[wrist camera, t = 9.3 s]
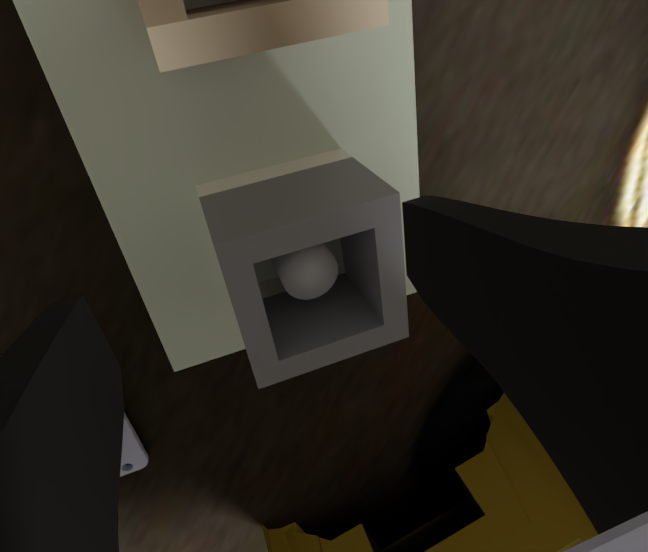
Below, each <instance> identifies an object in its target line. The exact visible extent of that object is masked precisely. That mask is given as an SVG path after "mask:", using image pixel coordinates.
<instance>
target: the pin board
mask: <svg viewBox="0 0 648 552" xmlns="http://www.w3.org/2000/svg"><path fill="white" fill-rule="evenodd" d="M12 1H13V3H14V5H15V7H16V10H17V12H18V14H19V17H20V19H21V21H22V24H23V26H24V28H25V30H26V33H27V35H28V37H29V40H30V42H31V44H32V46H33V49H34V51H35V53H36V56H37V58H38V60H39V63H40V65H41V67H42V69H43V72H44V74H45V76H46V79H47V81H48V83H49V85H50V88H51V90H52V92H53V95H54V97H55V99H56V102H57V104H58V106H59V108H60V111H61V113H62V115H63V118H64V120H65V122H66V124H67V127H68V129H69V131H70V134H71V136H72V138H73V141H74V143H75V145H76V147H77V150H78V152H79V154H80V157H81V159H82V161H83V163H84V166H85V168H86V170H87V173H88V175H89V177H90V180H91V182H92V184H93V186H94V189H95V191H96V193H97V196H98V198H99V200H100V203H101V205H102V207H103V209H104V212H105V214H106V216H107V219H108V221H109V223H110V225H111V228H112V230H113V232H114V235H115V237H116V239H117V242H118V244H119V246H120V248H121V251H122V253H123V255H124V258H125V260H126V262H127V264H128V267H129V269H130V271H131V274H132V276H133V278H134V281H135V283H136V285H137V287H138V290H139V292H140V294H141V297H142V299H143V301H144V303H145V306H146V308H147V310H148V313H149V315H150V317H151V320H152V322H153V324H154V326H155V329H156V331H157V333H158V336H159V338H160V340H161V342H162V345H163V347H164V349H165V352H166V354H167V356H168V359H169V361H170V363H171V365H172V368H173V370H174V372H176V371H179V370H183V369H186V368H189V367H192V366H195V365H198V364H201V363H204V362H207V361H210V360H213V359H216V358H219V357H222V356H225V355H228V354H231V353H234V352H237V351H240V350H243V349H246V348H245V345H244V341H243V338H242V335H241V332H240V329H239V325H238V322H237V319H236V316H235V313H234V309H233V306H232V303H231V300H230V297H229V293H228V290H227V287H226V284H225V281H224V278H223V274H222V271H221V268H220V265H219V262H218V258H217V255H216V252H215V249H214V246H213V242H212V239H211V236H210V232H209V229H208V226H207V223H206V219H205V216H204V213H203V209H202V206H201V203H200V200H199V196H198V193H197V190H196V185H200V184H204V183H208V182H211V181H215V180H219V179H223V178H227V177H231V176H235V175H239V174H242V173H246V172H250V171H254V170H258V169H262V168H266V167H270V166H274V165H277V164H281V163H285V162H289V161H293V160H297V159H301V158H305V157H308V156H312V155H316V154H320V153H324V152H328V151H332V150H336V149H339V148H342V149H343V150H344V151H345V152H347V153H348V154H349V155H351V156H352V157H353V158H355V159H356V160H357V161H359V162H360V163H361V164H363V165H364V166H365V167H367V168H368V169H369V170H370V171H372V172H373V173H374V174H376V175H377V176H378V177H380V178H381V179H382V180H384V181H385V182H386V183H388V184H389V185H390V186H392V187H393V188H394V189H396V190H397V191H398V192H399V193H400V205H401V220H402V235H403V251H404V266H405V281H406V295H409V294H412V293H415V292H417V291H416V289H415V288H414V286H413V284H412V283H411V281H410V280H409V278H408V277H407V273H406V258H405V242H404V226H403V210H402V202H405V201H408V200H412V199H415V198H419V197H420V194H419V170H418V146H417V122H416V97H415V73H414V49H413V25H412V0H388V13H389V25H386V26H381V27H376V28H371V29H367V30H362V31H357V32H352V33H348V34H343V35H338V36H333V37H328V38H324V39H319V40H314V41H309V42H305V43H300V44H295V45H290V46H285V47H281V48H276V49H271V50H266V51H262V52H257V53H252V54H247V55H242V56H238V57H233V58H228V59H223V60H219V61H214V62H209V63H204V64H199V65H195V66H190V67H185V68H180V69H176V70H171V71H166V72H161V73H160V71H159V68H158V64H157V61H156V58H155V55H154V52H153V48H152V45H151V42H150V39H149V36H148V32H147V29H146V26H145V23H144V20H143V16H142V13H141V10H140V7H139V4H138V0H12ZM232 1H237V0H183V3H184V6H185V10H189V9H194V8H200V7H205V6H210V5H216V4H221V3H226V2H232ZM253 266H254V270H255V274H256V278H257V281H258V283H260V282H263V281H267V280H270V279H273V278H276V277H279V278H280V280H281V282H282V284H283V286H284V288H285V290H286V291H287V292H288V293H289V294H290V295H291V296H293V297H295V298H297V299H302V300H309V299H314V298H317V297H319V296H321V295H323V294H324V293H326V292H327V291H328V290H329V289H330V288H331V287H332V286H333V284H334V283H335V281H336V278H337V275H338V265H337V261H336V259H335V254H334V248H333V242H332V241H328V242H325V243H322V244H318V245H315V246H312V247H308V248H305V249H302V250H298V251H295V252H291V253H288V254H285V255H281V256H278V257H275V258H271V259H268V260H264V261H261V262H258V263H254V264H253Z"/></svg>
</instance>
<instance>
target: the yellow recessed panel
mask: <svg viewBox="0 0 648 552" xmlns="http://www.w3.org/2000/svg"><path fill="white" fill-rule="evenodd" d="M487 413H488V416H489V420H490V423H491V425H490V428H489V431H488V433H487V436H486V437H485V439H484V440H483V442H482V443H481V444H480V446H479V448H478V449H477V450H476V452H475V453H474V455H473V457H472V458H471V459H469V460H468V461H466V462H464V463H463V464H461V465H459V466H458V467H456V468H455V470H456V473H457V475H458V477H459V479H458V480H457V481H456V483H455V484H454V486H453V488H452V489H451V491H450V492H449V493H448V495H447V496H446V498H445V499H444V500H443V502H442V503H441V504H440V506H439V507H438V508H437V509H436V511H435V512H434V513H433V514H432V515H431V516H430V518H429V519H428V520H427V521H426V522H425V523H424V524H423V525H422V526H421V527H419V528H418V529H416V530H414V531H413V532H411V533H409V534H408V535H406V536H404V537H403V538H401V539H399V540H398V541H396V542H394V543H392V544H391V545H389V546H387V547H386V548H384V549H382V550H381V549H380V548H379V546H378V545H377V544H376V542H375V541H374V540H373V538H372V537H371V536H370V534H369V533H368V532H367V530H366V529H365V527H364V526H363V525H362V523H361V524H359V525H358V526H356V527H354V528H352V529H351V530H349V531H347V532H345V533H344V534H342V535H340V536H338V537H337V538H335V539H333V540H332V541H330V540H326V539H323V538H320V537H318V536H316V535H310V534H306V533H305V532H304V531H303V530H302V529H301V528H300V527H299V526H298V525H297V524H296V523H295V522H294V523H292V524H290V525H287V526H285V527H283V528H280V529H267V528H266V527H265V526H264V525H263V524H262V527H263V531H264V535H265V540H266V544H267V548H268V552H563V551H566V550H568V549H570V548H572V547H574V546H576V545H578V544H580V543H582V542H584V541H586V540H589V539H591V538H593V537H595V536H597V535H598V533H597V531H596V530H595V528H594V526H593V525H592V523H591V521H590V520H589V518H588V517H587V515H586V513H585V512H584V510H583V508H582V507H581V505H580V503H579V502H578V500H577V498H576V497H575V495H574V494H573V492H572V490H571V489H570V487H569V486H568V484H567V483H566V481H565V480H564V478H563V477H562V475H561V474H560V472H559V470H558V469H557V467H556V466H555V464H554V463H553V461H552V460H551V458H550V457H549V455H548V454H547V452H546V450H545V449H544V448H543V446H542V445H541V443H540V442H539V440H538V439H537V438H536V436H535V435H534V433H533V432H532V430H531V429H530V427H529V426H528V425H527V423H526V422H525V420H524V419H523V417H522V416H521V415H520V413H519V412H518V411H517V409H516V408H515V406H514V405H513V404H512V402H511V401H510V400H509V398H508V397H507V396H506V394H505V393H504V394H503V395H502V397H501V398H500V400H499V401H498V402H497V403H495V404H494V405H493V406H491V407H490V408H489V409H487Z"/></svg>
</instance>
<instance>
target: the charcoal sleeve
mask: <svg viewBox="0 0 648 552" xmlns="http://www.w3.org/2000/svg"><path fill="white" fill-rule="evenodd" d="M196 190H197V193H198V196H199V200H200V203H201V206H202V209H203V213H204V216H205V219H206V223H207V226H208V229H209V232H210V236H211V239H212V242H213V246H214V249H215V252H216V255H217V258H218V262H219V265H220V268H221V271H222V274H223V278H224V281H225V284H226V287H227V290H228V293H229V297H230V300H231V303H232V306H233V309H234V313H235V316H236V319H237V322H238V325H239V329H240V332H241V335H242V338H243V341H244V345H245V348H246V351H247V354H248V357H249V361H250V364H251V367H252V370H253V373H254V377H255V380H256V383H257V386H258V389H261V388H264V387H267V386H270V385H272V384H275V383H278V382H281V381H284V380H287V379H290V378H292V377H295V376H298V375H301V374H304V373H307V372H310V371H313V370H315V369H318V368H321V367H324V366H327V365H330V364H333V363H335V362H338V361H341V360H344V359H347V358H350V357H353V356H355V355H358V354H361V353H364V352H367V351H370V350H373V349H375V348H378V347H381V346H384V345H387V344H390V343H393V342H396V341H398V340H401V339H404V338H407V337H409V327H408V312H407V297H406V281H405V266H404V251H403V235H402V220H401V205H400V193H399V192H398V191H397V190H396V189H394V188H393V187H392V186H390V185H389V184H388V183H386V182H385V181H384V180H382V179H381V178H380V177H378V176H377V175H376V174H374V173H373V172H372V171H370V170H369V169H368V168H367V167H365V166H364V165H363V164H361V163H360V162H359V161H357V160H356V159H355V158H353V157H352V156H351V155H349V154H348V153H347V152H345V151H344V150H343V149H342V148H339V149H336V150H332V151H328V152H324V153H320V154H316V155H312V156H308V157H305V158H301V159H297V160H293V161H289V162H285V163H281V164H277V165H274V166H270V167H266V168H262V169H258V170H254V171H250V172H246V173H242V174H239V175H235V176H231V177H227V178H223V179H219V180H215V181H211V182H208V183H204V184H200V185H196ZM328 241H332V242H333V248H334V254H335V259H336V261H337V265H338V275H337V278H336V281H335V283H334V284H333V286H332V287H331V288H330V289H329V290H328V291H327V292H326V293H324V294H323V295H321V296H319V297H317V298H314V299H309V300H302V299H297V298H295V297H293V296H291V295H290V294H289V293H288V292H287V291H286V290H285V288H284V286H283V284H282V282H281V280H280V278H279V277H276V278H273V279H270V280H267V281H263V282H260V283H258V281H257V278H256V274H255V270H254V266H253V264H254V263H258V262H261V261H264V260H268V259H271V258H275V257H278V256H281V255H285V254H288V253H291V252H295V251H298V250H302V249H305V248H308V247H312V246H315V245H318V244H322V243H325V242H328Z"/></svg>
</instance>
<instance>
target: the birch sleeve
mask: <svg viewBox="0 0 648 552" xmlns="http://www.w3.org/2000/svg"><path fill="white" fill-rule="evenodd" d="M138 4H139V7H140V10H141V13H142V16H143V20H144V23H145V26H146V29H147V32H148V36H149V39H150V42H151V45H152V48H153V52H154V55H155V58H156V61H157V64H158V68H159V71H160V73H161V72H166V71H171V70H176V69H180V68H185V67H190V66H195V65H199V64H204V63H209V62H214V61H219V60H223V59H228V58H233V57H238V56H242V55H247V54H252V53H257V52H262V51H266V50H271V49H276V48H281V47H285V46H290V45H295V44H300V43H305V42H309V41H314V40H319V39H324V38H328V37H333V36H338V35H343V34H348V33H352V32H357V31H362V30H367V29H371V28H376V27H381V26H386V25H389V13H388V0H237V1H232V2H226V3H221V4H216V5H210V6H205V7H200V8H194V9H189V10H185V6H184V3H183V0H138Z"/></svg>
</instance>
